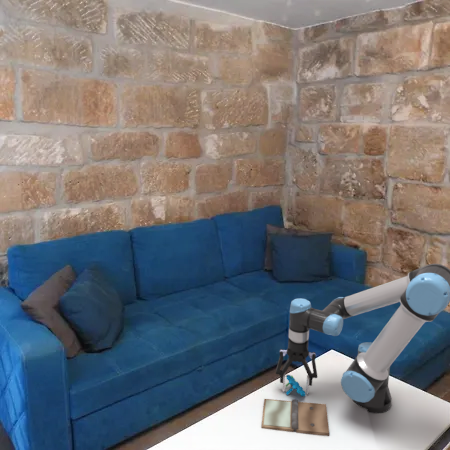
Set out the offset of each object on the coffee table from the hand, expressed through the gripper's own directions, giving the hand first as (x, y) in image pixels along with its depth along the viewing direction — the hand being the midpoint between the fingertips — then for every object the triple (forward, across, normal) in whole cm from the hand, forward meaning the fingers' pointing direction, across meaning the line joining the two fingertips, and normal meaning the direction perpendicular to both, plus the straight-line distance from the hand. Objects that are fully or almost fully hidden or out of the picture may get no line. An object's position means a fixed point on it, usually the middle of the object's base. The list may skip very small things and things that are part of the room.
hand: (295, 390), depth 171 cm
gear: (+2, -2, 0) cm, 3 cm away
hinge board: (+1, 0, +15) cm, 15 cm away
